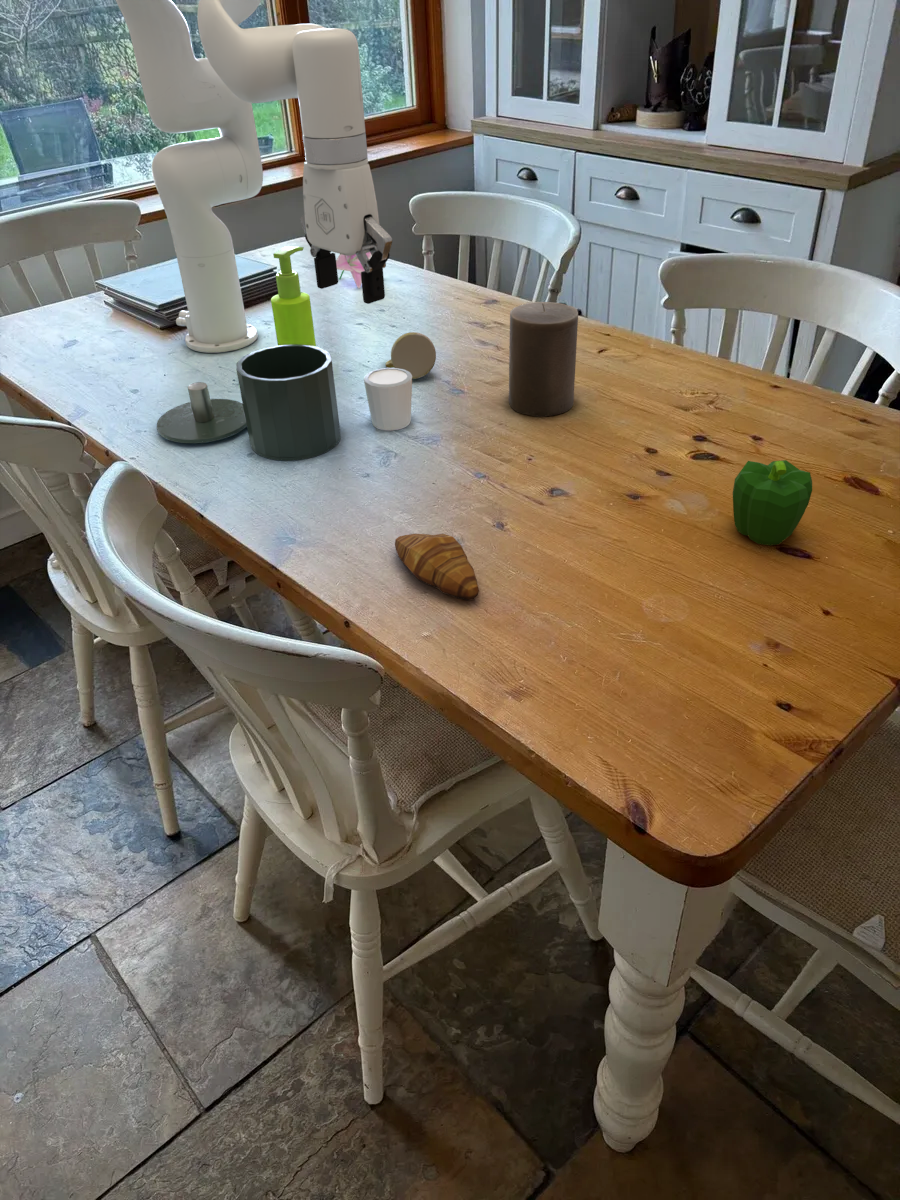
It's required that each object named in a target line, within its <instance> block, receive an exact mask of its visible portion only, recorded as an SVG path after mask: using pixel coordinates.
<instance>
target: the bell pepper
mask: <svg viewBox="0 0 900 1200" xmlns="http://www.w3.org/2000/svg"><path fill="white" fill-rule="evenodd" d="M811 475H812V474H811V472H809V471H806V470H801V469H800V468H798V467H797V466H795V465H794V464H793V463H791V462H789V460H787V459H784V460H783V459H782V460H773V461H771V462H770V463H768V464H765V463H762V462H759V461H753V460H747V462H746V463H745V464H744V466H743V467H742V469H741V470H740V471H739V472H738V473H737V475H736V476H735V478H734V480H733V481H734V482H733V487H732V510H733V511H732V512H733V520H734V521H733V522H734V527H735V528H736V531H737V532H738V533H740V534H741V535H742V536H748V538H749V540H751V541H752V542H754V543H756V544H758V545H763V546H778V545H781V544H782V543H783V542H784V541H785V540H786V539H788V538H789V537H791V536H792V535H793V533H794V531H795V530H796V528H797V527H798V525H799V524H800V522H801V520H802V518H803V516H804V515H805V512H806V509H807V507H808V506H809V504H810V500H811V497H812V492H813V478H812V476H811Z"/></svg>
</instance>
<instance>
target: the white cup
mask: <svg viewBox="0 0 900 1200" xmlns="http://www.w3.org/2000/svg"><path fill="white" fill-rule="evenodd" d="M363 383H364V388H365V393H366V399H367V403H368V409H369V415H370V419H371V423H372V426H373V428H375V429H376V430H381V431H389V432H390V431H391V432H392V431H399V430H402V429H405V428H407V427H408V426H409V425H410V424H411V420H412V396H413V395H412V393H413V379H412V375H411V373H410V372H408V371H407V370H404V369H399V368H394V367H391V368H388V367H382V368H376V369H373V370H370V371H369V372H367V373H366V374H365V375H364V377H363Z"/></svg>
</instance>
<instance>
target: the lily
mask: <svg viewBox="0 0 900 1200" xmlns="http://www.w3.org/2000/svg"><path fill="white" fill-rule="evenodd" d="M366 255H367V257H368V259H369V260H370V258H371V257H372V255H371V253H370V252H368V253H366ZM336 265H337V271H338V270H339V271H341V273H340V276H339V277H338V280H341V279H342V277H343V275H344V272H350V274H351V276H352V279H353V281H354V283H355V285H356V287H357V289H360V288H361V287H362V281H361V272H363V271H364V269H363V267H362V265H361V263H360V261H359V259H358V257H357V256H356V254H354V255H351V256H347V255H343V254H338V256H337V257H336Z"/></svg>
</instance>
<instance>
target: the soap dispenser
mask: <svg viewBox="0 0 900 1200" xmlns="http://www.w3.org/2000/svg"><path fill="white" fill-rule="evenodd" d="M302 251H304V246H294V245H287V246H284V247H282V248H280V249H277V251H275V252H274V253H273V259H278V262H279V271H278V272H276V274H275V281H276V288H277V294H275V295H273V296H272V297H271V298H270V303H271V310H272V317H273V323H274V329H275V335H276V342H277V346H278V345H290V344H301V345H310V346H315V347H317V341H316V335H315V326H314V320H313V311H312V304H311V296H310V294H308V293H306V292H303V291H301V284H300V283H301V282H300V277H299V272H297V271H295V270H293V267H292V259H291V256H292V255H294V254H295V253H298V252H302Z"/></svg>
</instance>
